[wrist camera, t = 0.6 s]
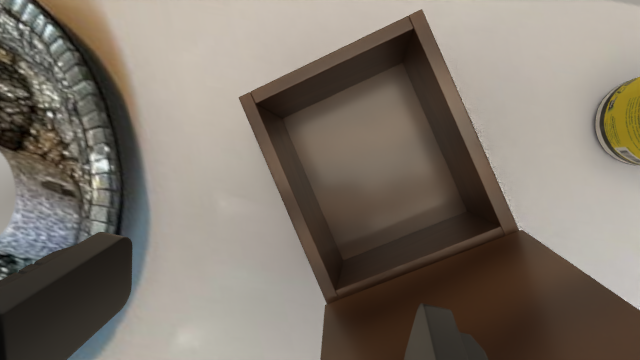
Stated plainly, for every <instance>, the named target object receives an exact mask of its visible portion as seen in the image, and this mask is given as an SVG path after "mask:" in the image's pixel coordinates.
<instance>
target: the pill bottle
mask: <svg viewBox="0 0 640 360" xmlns="http://www.w3.org/2000/svg"><path fill="white" fill-rule="evenodd" d="M595 126H596V133H597V137H598V139H599V141H600V143H601V145H602V147H603V148H604V149H605V150H606V151H607V152H608V153H609V154H610V155H611V156H613V157H614V158H616V159H618V160H620V161H622V162H625V163H628V164H633V165H640V77H638V78H635V79H632V80H630V81H627V82H625V83H622V84H621V85H619V86H617V87H616V88H614V89H613V90H612V91H611V92H610V93H609V94H608V95H607V96H606V97H605V98H604V99H603V101H602V103H601V104H600V106H599V109H598V111H597V116H596V122H595Z"/></svg>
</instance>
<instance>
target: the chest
mask: <svg viewBox="0 0 640 360" xmlns="http://www.w3.org/2000/svg"><path fill="white" fill-rule="evenodd" d="M239 100H240V102H241V104H242V107H243V109H244V111H245V114H246V116H247V118H248V121H249V123H250V125H251V128H252V130H253V132H254V135H255V137H256V139H257V142H258V144H259V146H260V149H261V151H262V153H263V156H264V158H265V160H266V163H267V165H268V167H269V170H270V172H271V174H272V177H273V179H274V181H275V184H276V186H277V188H278V191H279V193H280V195H281V198H282V200H283V202H284V205H285V207H286V209H287V212H288V214H289V216H290V219H291V221H292V223H293V226H294V228H295V230H296V233H297V235H298V237H299V240H300V242H301V244H302V247H303V249H304V251H305V254H306V256H307V258H308V261H309V263H310V265H311V268H312V270H313V272H314V275H315V277H316V279H317V282H318V284H319V286H320V289H321V291H322V293H323V296H324V298H325V300H326V303H327V304H329V303H332V302H335V301H337V300H340V299H343V298H345V297H348V296H350V295H353V294H356V293H358V292H361V291H363V290H366V289H369V288H371V287H374V286H376V285H379V284H382V283H384V282H387V281H390V280H392V279H395V278H397V277H400V276H403V275H405V274H408V273H410V272H413V271H416V270H418V269H421V268H423V267H426V266H429V265H431V264H434V263H436V262H439V261H442V260H444V259H447V258H450V257H452V256H455V255H457V254H460V253H463V252H465V251H468V250H470V249H473V248H476V247H478V246H481V245H483V244H486V243H489V242H491V241H494V240H497V239H499V238H502V237H504V236H507V235H510V234H512V233H515V232H517V231H519V229H518V227H517V225H516V222H515V220H514V218H513V216H512V213H511V211H510V209H509V206H508V204H507V202H506V200H505V197H504V195H503V193H502V190H501V188H500V186H499V184H498V181H497V179H496V177H495V175H494V172H493V170H492V168H491V165H490V163H489V161H488V159H487V156H486V154H485V152H484V150H483V147H482V145H481V143H480V140H479V138H478V136H477V134H476V131H475V129H474V127H473V124H472V122H471V120H470V118H469V115H468V113H467V111H466V109H465V106H464V104H463V102H462V99H461V97H460V95H459V93H458V90H457V88H456V86H455V84H454V81H453V79H452V77H451V74H450V72H449V70H448V68H447V65H446V63H445V61H444V58H443V56H442V54H441V52H440V49H439V47H438V45H437V43H436V40H435V38H434V36H433V33H432V31H431V29H430V27H429V24H428V22H427V20H426V17H425V15H424V13H423V11H422V10H419V11H417V12H415V13H413V14H411V15H409V17H408V16H407V17H405V18H403V19H401V20H398V21H396V22H394V23H392V24H390V25H388V26H386V27H384V28H382V29H380V30H378V31H376V32H374V33H371V34H369V35H367V36H365V37H363V38H361V39H359V40H357V41H355V42H353V43H351V44H349V45H347V46H344V47H342V48H340V49H338V50H336V51H334V52H332V53H330V54H328V55H326V56H324V57H322V58H320V59H318V60H315V61H313V62H311V63H309V64H307V65H305V66H303V67H301V68H299V69H297V70H295V71H293V72H291V73H288V74H286V75H284V76H282V77H280V78H278V79H276V80H274V81H272V82H270V83H268V84H266V85H264V86H261V87H259V88H257V89H255V90H253V91H251V92H249V93H247V94H245V95H243V96H241V97H239Z"/></svg>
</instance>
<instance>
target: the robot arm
mask: <svg viewBox="0 0 640 360" xmlns="http://www.w3.org/2000/svg"><path fill="white" fill-rule="evenodd" d="M131 285H132V242H131V240H130V239H129V238H127V237H123V236H119V235H114V234H110V233H105V232H99V233H97V234H95V235H93V236H91V237H89V238H88V239H86V240H84V241H82V242H80V243H79V244H77V245H74V246H71V247H68V248H65V249H61V250H58V251H55V252H52V253H50V254H49V255H47V256H45V257H43V258H41V259H39V260H38V261H36V262H35V263H34V264H30V265H28V266H26V267H25V268H23V269H21V270H19V272H18V273H13V274H12V275H10V276H8V277H6V278H4V279H2V280H0V360H67V359H68V358H69V357H70V356H71V355H72V354H73V353H74V352H75V351H76V350H78V349H79V348H80V347H81V346H82V345H83V344H84V343H85V342H86V341H87V340H89V339H90V338H91V337H92V336H93V335H94V334H95V333H96V332H97V331H98V330H99V329H101V328H102V327H103V326H104V325H105V324H106V323H107V322H108V321H109V320H110V319H111V318H113V317H114V316H115V315H116V314H117V313H118V312H119V311H120V310H121V309H122V308H123V307H124V305H125V304H126V302H127V300H128V298H129V295H130V292H131ZM404 360H488V358H487V355H486V353H485V351H484V350H483V349H482V347H481V346H480V345H479V344H478V343H477V342H476V341H475V339H474V338H473V337H472V336H471V335H470V334H466V333H461V332H459V330H458V327H457V325H456V322H455V319H454V316H453V313H452V311H451V310H450V309H446V308H442V307H437V306H433V305H428V304H424V303H421V304H420V305H419V307H418V309H417V312H416V316H415V320H414V323H413V327H412V330H411V334H410V338H409V341H408V345H407V348H406V352H405V357H404Z"/></svg>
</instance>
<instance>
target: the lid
mask: <svg viewBox="0 0 640 360" xmlns="http://www.w3.org/2000/svg"><path fill="white" fill-rule="evenodd" d="M421 303H424V304H428V305H433V306H437V307H442V308H446V309H450V310H451V311H452V313H453V316H454V319H455V322H456V325H457V327H458V330H459V332H461V333H466V334H470V335H471V336H472V337H473V338H474V339H475V341H476V342H477V343H478V344H479V345H480V346H481V347H482V349H483V350H484V351H485V353H486V355H487V358H488V360H640V310H638V309H637V308H635V307H634V306H632V305H631V304H629V303H628V302H627V301H625V300H624V299H622V298H621V297H619V296H618V295H616V294H615V293H613V292H612V291H611V290H609V289H608V288H606V287H605V286H603V285H602V284H600V283H599V282H597V281H596V280H595V279H593V278H592V277H590V276H589V275H587V274H586V273H584V272H583V271H581V270H580V269H579V268H577V267H576V266H574V265H573V264H571V263H570V262H568V261H567V260H565V259H564V258H562V257H561V256H560V255H558V254H557V253H555V252H554V251H552V250H551V249H549V248H548V247H546V246H545V245H544V244H542V243H541V242H539V241H538V240H536V239H535V238H533V237H532V236H530V235H529V234H528V233H526V232H525V231H523V230H520V231H517V232H515V233H512V234H510V235H507V236H504V237H502V238H499V239H497V240H494V241H491V242H489V243H486V244H483V245H481V246H478V247H476V248H473V249H470V250H468V251H465V252H463V253H460V254H457V255H455V256H452V257H450V258H447V259H444V260H442V261H439V262H436V263H434V264H431V265H429V266H426V267H423V268H421V269H418V270H416V271H413V272H410V273H408V274H405V275H403V276H400V277H397V278H395V279H392V280H390V281H387V282H384V283H382V284H379V285H376V286H374V287H371V288H369V289H366V290H363V291H361V292H358V293H356V294H353V295H350V296H348V297H345V298H343V299H340V300H337V301H335V302H332V303H329V304H327V305H325V312H324V324H323V336H322V348H321V360H404V357H405V352H406V348H407V345H408V341H409V338H410V334H411V330H412V327H413V323H414V320H415V316H416V312H417V309H418V307H419V305H420V304H421Z"/></svg>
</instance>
